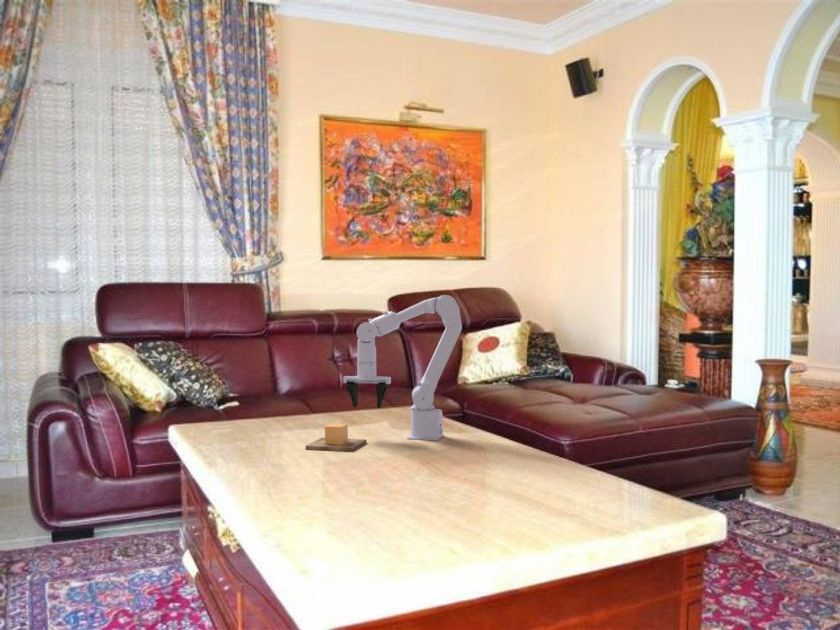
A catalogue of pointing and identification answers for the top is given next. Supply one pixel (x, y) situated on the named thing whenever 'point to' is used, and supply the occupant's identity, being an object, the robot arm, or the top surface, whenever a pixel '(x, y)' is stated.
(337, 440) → the orange cube
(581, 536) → the top surface
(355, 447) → the brown rectangular slab
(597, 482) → the top surface
